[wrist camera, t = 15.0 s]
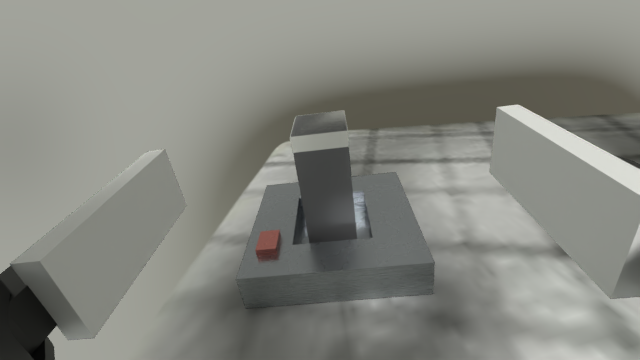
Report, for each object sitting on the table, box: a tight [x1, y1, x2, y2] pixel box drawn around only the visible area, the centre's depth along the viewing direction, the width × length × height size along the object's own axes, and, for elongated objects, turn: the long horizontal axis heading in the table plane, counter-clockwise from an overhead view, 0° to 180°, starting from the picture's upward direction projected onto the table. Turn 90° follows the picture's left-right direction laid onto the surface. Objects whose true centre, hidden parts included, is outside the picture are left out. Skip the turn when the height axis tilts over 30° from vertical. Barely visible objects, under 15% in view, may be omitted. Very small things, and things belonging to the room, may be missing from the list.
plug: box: [290, 111, 357, 243], centre depth 28 cm, size 4×5×11 cm
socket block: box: [236, 172, 435, 308], centre depth 30 cm, size 14×14×4 cm
